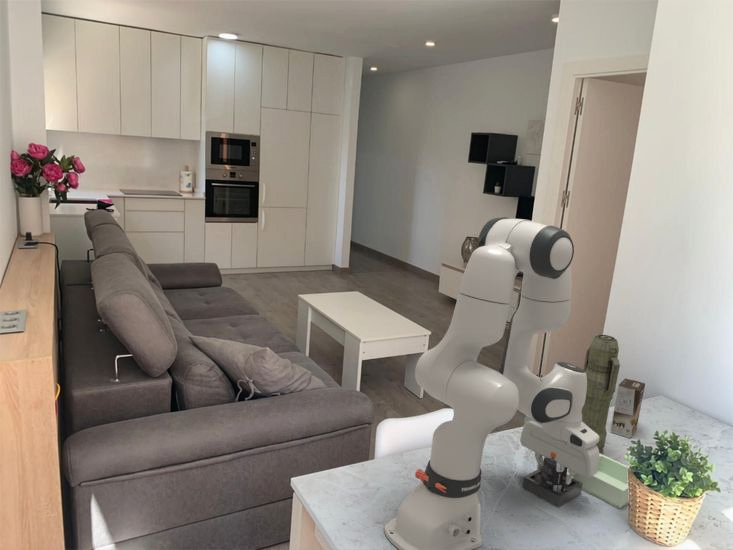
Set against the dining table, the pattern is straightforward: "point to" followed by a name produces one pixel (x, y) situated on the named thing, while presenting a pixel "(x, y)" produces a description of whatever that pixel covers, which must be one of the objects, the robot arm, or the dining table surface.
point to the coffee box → (627, 407)
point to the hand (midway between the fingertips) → (553, 476)
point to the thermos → (600, 384)
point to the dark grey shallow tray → (548, 494)
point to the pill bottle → (553, 474)
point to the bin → (607, 482)
